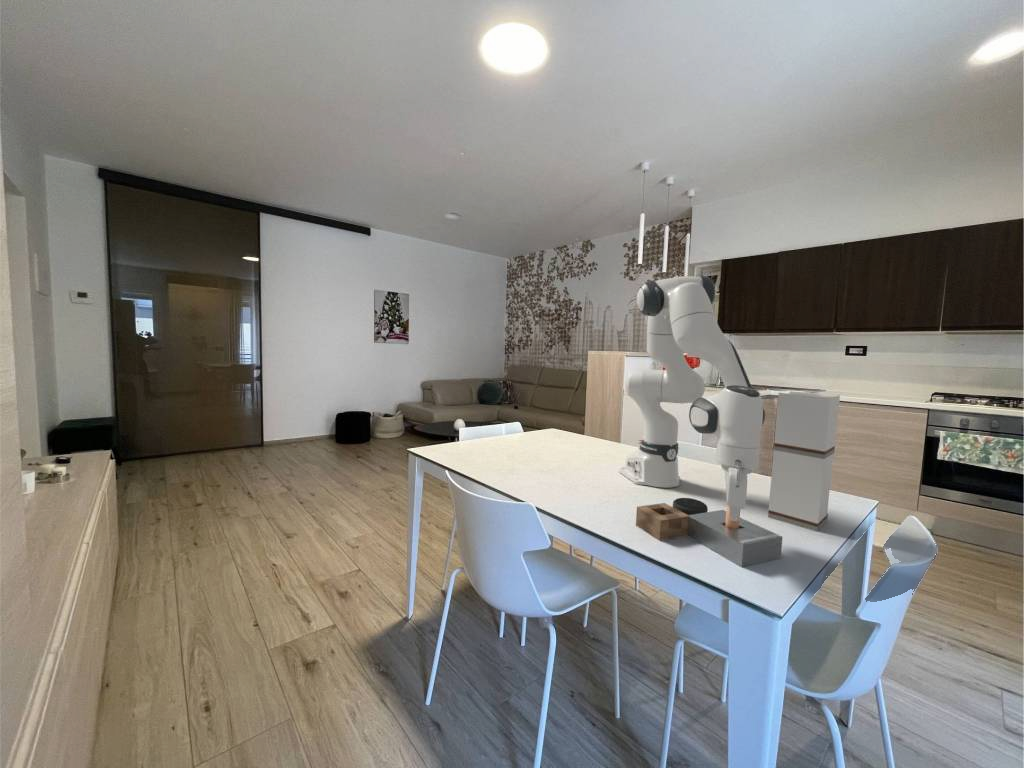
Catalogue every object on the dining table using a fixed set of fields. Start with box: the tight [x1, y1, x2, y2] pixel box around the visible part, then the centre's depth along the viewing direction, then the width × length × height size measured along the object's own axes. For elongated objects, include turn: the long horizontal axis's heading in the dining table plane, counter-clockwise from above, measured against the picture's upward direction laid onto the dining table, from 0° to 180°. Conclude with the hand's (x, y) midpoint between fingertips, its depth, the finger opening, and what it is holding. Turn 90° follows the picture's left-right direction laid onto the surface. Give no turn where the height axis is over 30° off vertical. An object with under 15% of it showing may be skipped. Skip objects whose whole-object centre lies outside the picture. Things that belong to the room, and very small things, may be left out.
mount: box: [635, 502, 688, 541], centre depth 106 cm, size 9×9×5 cm
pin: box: [725, 505, 741, 530], centre depth 98 cm, size 3×3×11 cm
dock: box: [686, 509, 783, 568], centre depth 98 cm, size 16×12×5 cm
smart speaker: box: [672, 497, 709, 515], centre depth 115 cm, size 9×9×4 cm
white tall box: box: [767, 390, 841, 532], centre depth 114 cm, size 11×11×35 cm
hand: (732, 513), depth 98 cm, fingers open, 7 cm apart
